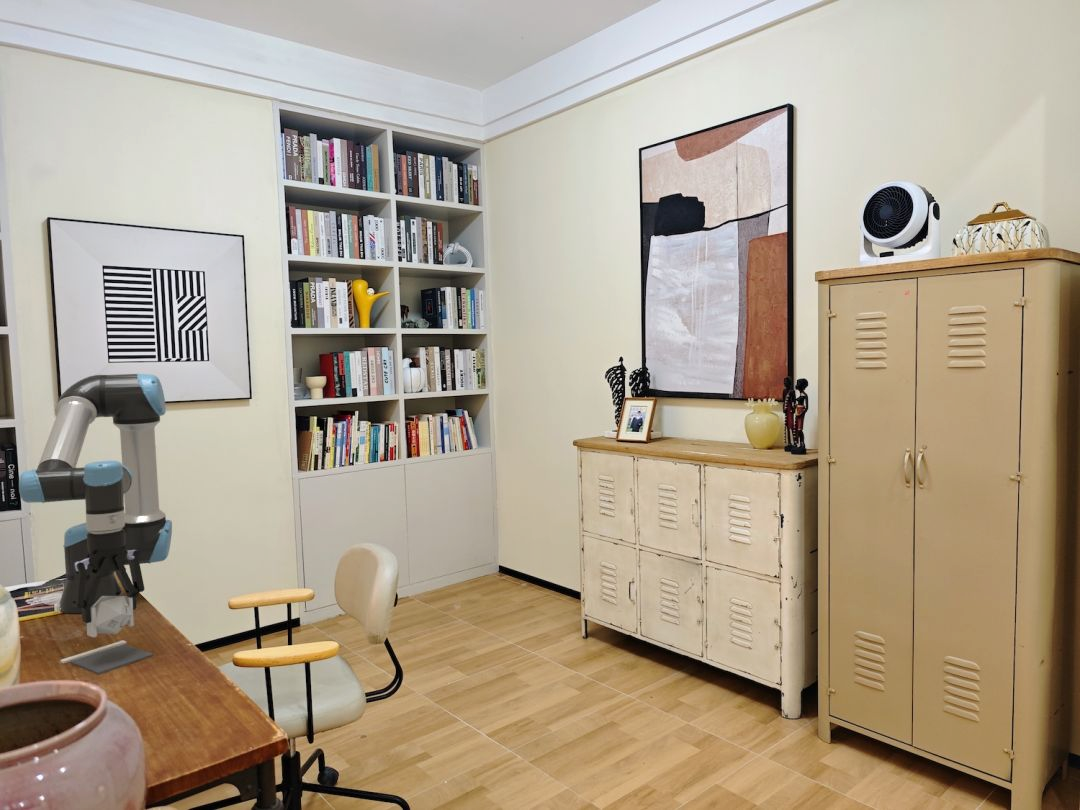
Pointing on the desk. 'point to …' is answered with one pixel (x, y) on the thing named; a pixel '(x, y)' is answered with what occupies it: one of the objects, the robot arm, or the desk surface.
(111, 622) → the die
